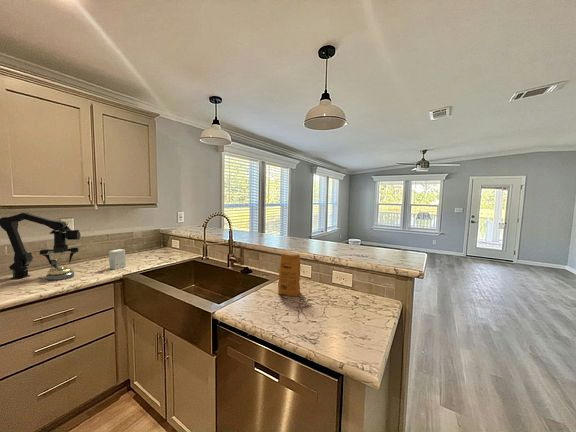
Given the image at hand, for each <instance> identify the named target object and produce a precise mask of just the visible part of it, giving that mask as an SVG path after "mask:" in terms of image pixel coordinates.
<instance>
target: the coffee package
mask: <svg viewBox="0 0 576 432" xmlns="http://www.w3.org/2000/svg"><path fill="white" fill-rule="evenodd" d="M278 273H279V274H278V281H277V283H278V284H277V285H278V287H277V289H278V291H277V294H278V295H284V296H287V297H297V296H299V294H300V293H301V285H300V284H301V283H300V280H301V255H300V254H291V255H290V254H286V253H281V255H280V264H279V271H278Z"/></svg>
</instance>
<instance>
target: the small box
mask: <svg viewBox="0 0 576 432" xmlns="http://www.w3.org/2000/svg"><path fill="white" fill-rule="evenodd" d="M108 258H109V259H108V261H109V269H112V270H117V269H122V268H126V267H127V266H126V265H127V263H126V262H127V261H126V249H121V248H119V249H114V250H109V251H108Z"/></svg>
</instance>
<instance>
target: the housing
mask: <svg viewBox="0 0 576 432" xmlns="http://www.w3.org/2000/svg"><path fill="white" fill-rule="evenodd" d="M74 277H75V271H74V270H72V272H70V273H67V274H63V275H54V276H51V275H48V273H47V274H45V279H46V280H47V281H46V282H58V281H59V282H60V281H65V280H69V279H72V278H74Z"/></svg>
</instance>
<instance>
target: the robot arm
mask: <svg viewBox="0 0 576 432" xmlns="http://www.w3.org/2000/svg"><path fill="white" fill-rule="evenodd" d="M24 220H25V221H28V222H33V223H36V224H38V225H39V224H40V225H42V226H43V225H44V226H46V227H48V228H49V229H51V231H50V232H49V234H50V235H53V248H52V249H50V248H41V250H39V255H42V256H44V257H45V258H46V259H47V262H48V263H49V265H51V260H52V259H51V253H53V254H59V253H60V254H61V253H65V252H70V253H69V260H68V262H69V263H71V261H72V258H73V256H74V254H77V253H78V252H79V251H80V248H79V247H78V246H71V247H70V248H69V245H68V244H67V240H68V241H78V240H80V239H81V238H82V237H81V232H80V230H79V229H71V228H70V227H69V226H68V225H67V223H66V221H63V220H56V219H48V218H45V217H42V216H38V215H35V214H33V213H32V214H31V213H29V212H21V213H19V214H14V215H11V216H3V217H0V227H1V229H3V230H4V231H5V232H6V235H7V237H8V240H9V242H10V245H11V246H12V250H13V252H14V255H13V263H12V264H11V265H10V266H9V267H8V268H9V269H10V271H12V276H11V277H10V279H11V280H12V279H14V280H17V279H18V280H20V279H23V278H27V277H30V276H31V274H29V269H28V266H29V265H30V264H32V262H33V260H34V257H33V254H32V252H31V251H30V252H28V251H27V250H26V249H25V246H24V243H23V241H22V238H21V236H20V233H19V230H18V227H19V222H22V221H24Z"/></svg>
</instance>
